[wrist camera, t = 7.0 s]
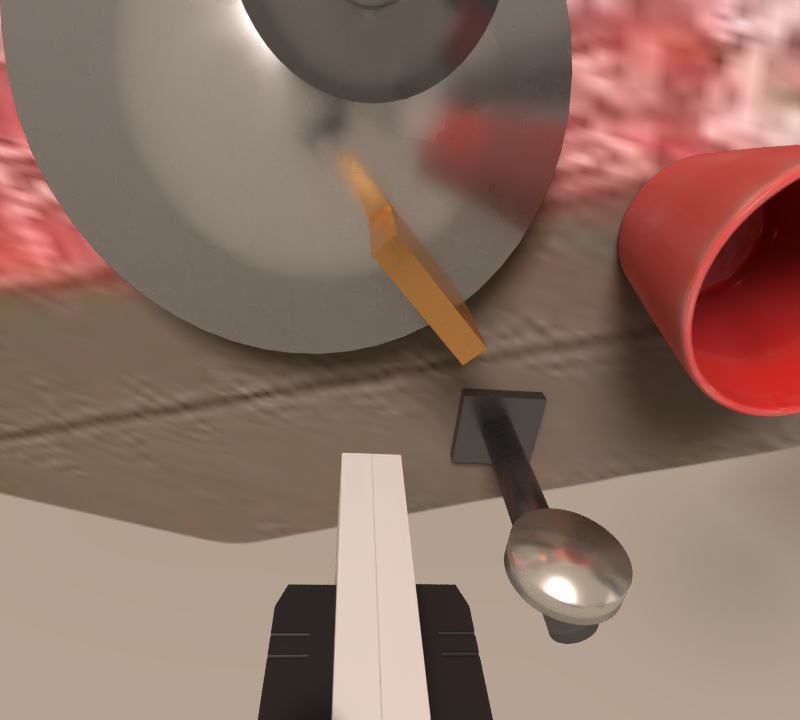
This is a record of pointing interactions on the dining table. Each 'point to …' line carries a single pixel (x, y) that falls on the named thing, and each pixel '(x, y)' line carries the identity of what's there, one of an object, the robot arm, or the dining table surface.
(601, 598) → the dial post
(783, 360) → the flower pot
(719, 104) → the dining table surface
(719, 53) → the dining table surface
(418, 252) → the turntable
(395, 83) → the cover
